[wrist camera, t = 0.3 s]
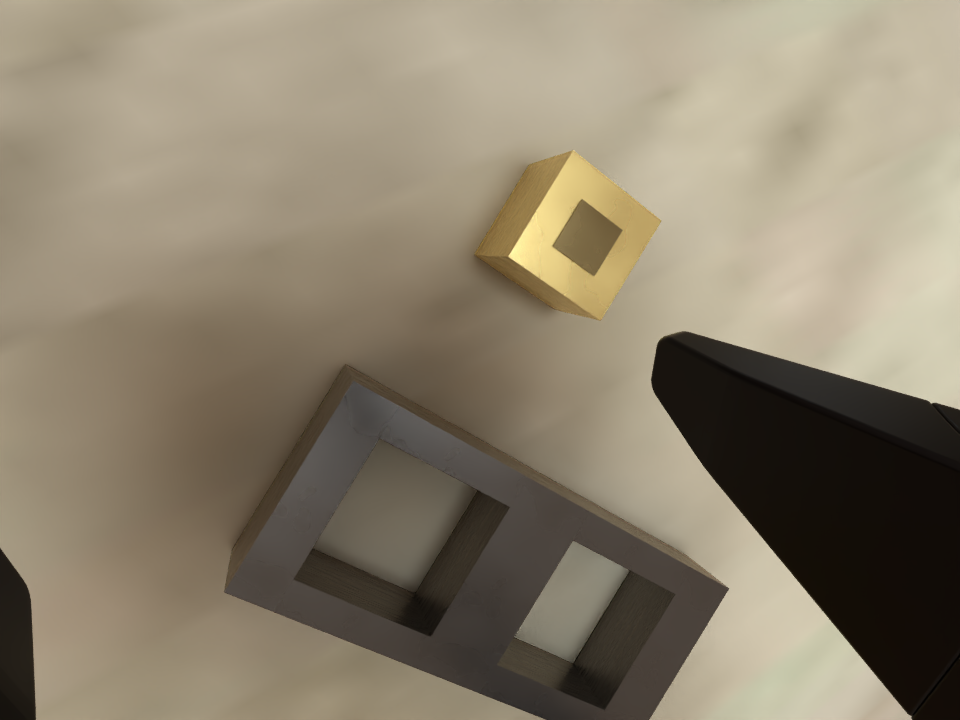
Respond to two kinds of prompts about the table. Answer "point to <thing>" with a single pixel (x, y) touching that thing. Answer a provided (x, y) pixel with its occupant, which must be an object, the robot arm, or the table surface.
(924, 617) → the robot arm
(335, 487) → the rail
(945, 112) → the table surface
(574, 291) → the nut
